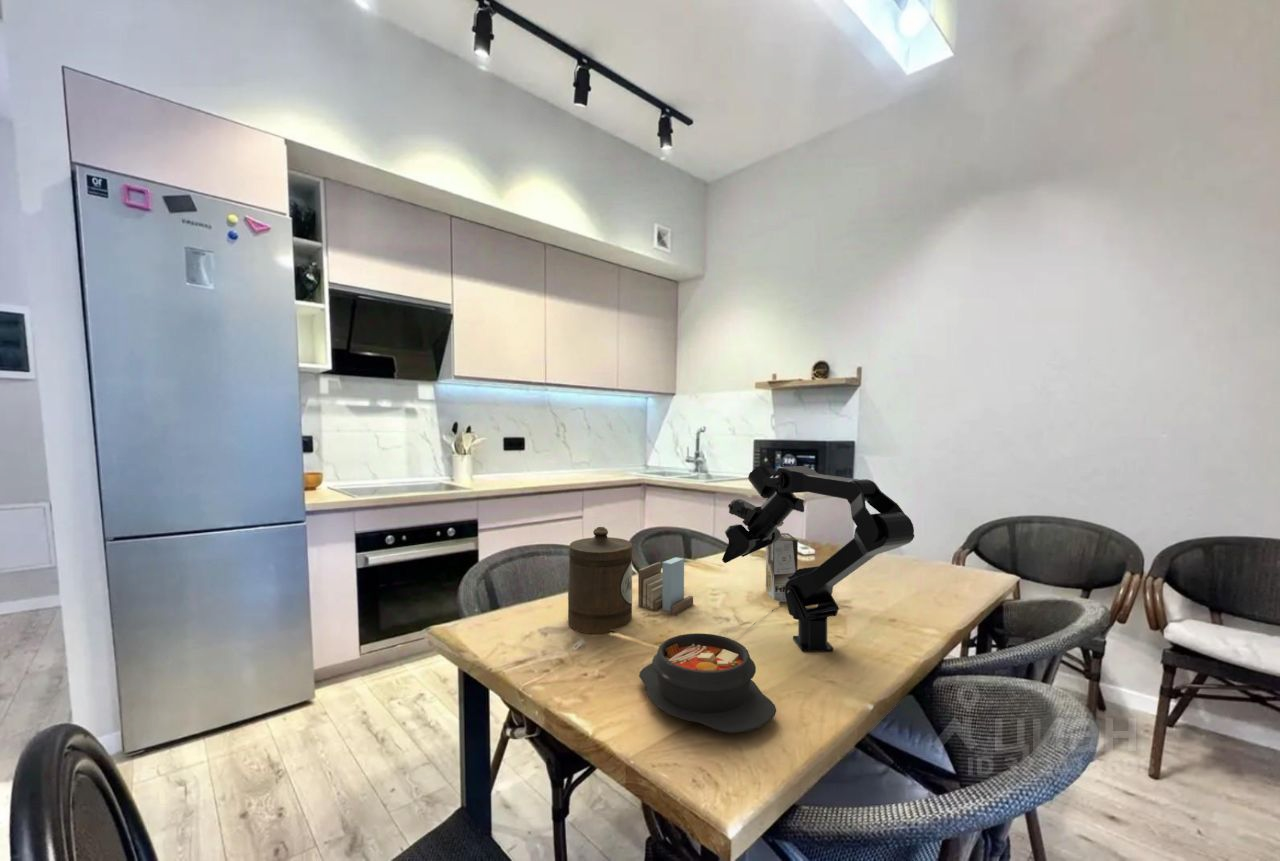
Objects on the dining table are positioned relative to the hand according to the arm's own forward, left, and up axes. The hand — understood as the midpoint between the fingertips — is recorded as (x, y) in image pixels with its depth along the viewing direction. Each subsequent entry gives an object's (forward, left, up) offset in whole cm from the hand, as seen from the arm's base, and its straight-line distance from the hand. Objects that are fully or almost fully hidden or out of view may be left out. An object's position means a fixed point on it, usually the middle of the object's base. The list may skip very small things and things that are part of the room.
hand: (732, 558), depth 121 cm
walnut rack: (+5, +15, -14) cm, 21 cm away
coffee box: (+14, -16, -14) cm, 25 cm away
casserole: (-37, +12, -14) cm, 41 cm away
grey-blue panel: (+4, +14, -13) cm, 20 cm away
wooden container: (-3, +31, -14) cm, 35 cm away
